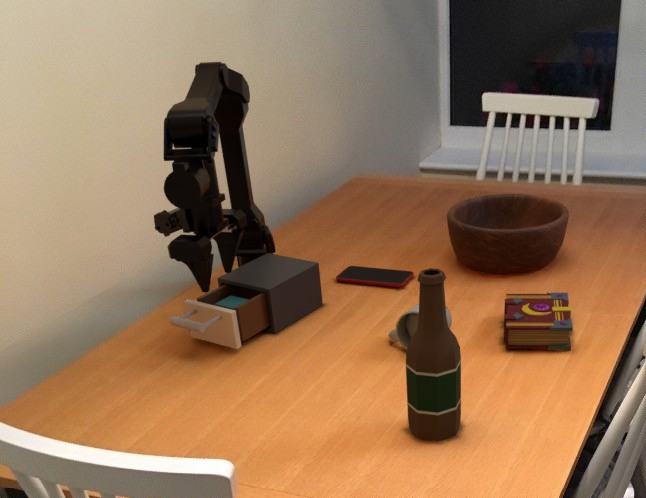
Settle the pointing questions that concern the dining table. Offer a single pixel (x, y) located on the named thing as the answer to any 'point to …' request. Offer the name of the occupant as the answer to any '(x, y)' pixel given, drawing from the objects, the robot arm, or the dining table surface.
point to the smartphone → (375, 276)
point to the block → (231, 302)
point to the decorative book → (537, 321)
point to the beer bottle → (433, 365)
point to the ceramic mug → (410, 326)
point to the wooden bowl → (507, 232)
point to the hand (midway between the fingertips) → (217, 282)
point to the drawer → (225, 316)
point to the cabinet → (280, 286)
